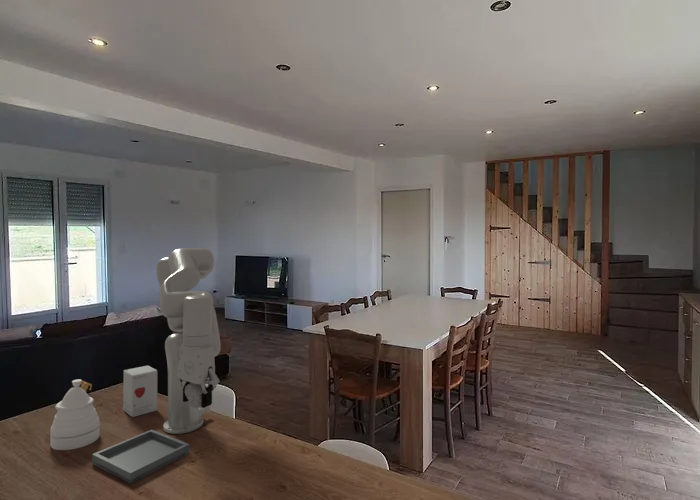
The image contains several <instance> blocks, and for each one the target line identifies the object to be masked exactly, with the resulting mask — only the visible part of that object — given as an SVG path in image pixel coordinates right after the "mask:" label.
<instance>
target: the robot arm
mask: <svg viewBox="0 0 700 500" xmlns="http://www.w3.org/2000/svg"><path fill="white" fill-rule="evenodd" d="M214 267H215V257H214V255H213V253H212V251H211V250H210V249H208V248H205V247H204V248H203V247H197V248H196V247H194V248H193V247H190V248H189V247H186V248H185V247H183V248H177V249H174V250H173V251H170V253H169V256H166V257H163V258H161V259H159V260H158V262H157V263H156V267H155V268H156V276H157V281H158V284H159V287H160V289H159V293H158V294H159V297H158V298H159V303H160V310H161V313H162V315H163V316H164V317H165V318H167V319H166V320H167V325H168V328H169V330H171V331H173V332H174V333H172V334H170V335H168V337H166V339H165V342H164V351H165V356H166V363H167V396H168V397H167V420H166V421H164V423H163V425H162V430H163V431H164V432H165V433H167V434H172V435H176V434H177V435H178V434H181V435H182V434H186V433H191V432H194V431H196V430H198V429H200V428H201V427H202V426H203V425H204V418H203V417H202V416H203V415H204V414H206V413H209V412H210V411H211V407H210V406H211V405H212V404H213V391H215V389H216V387H217V386H218V385H219V383H220V378H218V375H217V374H216V365H215V363H216V362H215V357H216V356H218V355H219V354H220V352H221V345H222V343H221V337H220V329H219V324H218V319H217V313H216V309H215V307H214V297H213V295H212V294H211V293H210V292H209V291H207V290H194V291H193V290H192V289H194V288H196V286H198V285H199V283H200V281H201V280H203V279H206V278H207V277H208V276H209V275H210V274H211V273H212V271H213V269H214ZM190 290H191V291H190ZM190 383H194V384H198V385H201V387H202V390H203V393H202V394H201V407H199V408H195V407H193V406H191V405H190V403H189V400H188V399H187V397H186V395H185V387H186V386H187V385H188V384H190ZM207 385H208V386H207ZM206 387H207V388H206Z"/></svg>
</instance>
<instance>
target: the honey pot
mask: <svg viewBox="0 0 700 500" xmlns="http://www.w3.org/2000/svg"><path fill="white" fill-rule="evenodd" d="M82 381H83V380H82V379H81V378H80V379H78V378H77V379H73V380H72V381H71V384H72V387H71V388H69V390H68V391H67V392H66V393H65V395H64V397H63V398H62V400H60V401H59V402H58V403H56V405H55V409H56V411H57V412H56V414H55V415H54V419H53V421H52V425H51V426H50V434H49V435H50V448H51V449H53V450H56V451H68V450H69V451H70V450H75V449H79V448H83V447H85V446H89V445H91V444H93V443H94V442H96V441H97V440H98V439H99V437H100V436H101V435H100V434H101V433H100V431H101V428H100V421H101V420H100V417H99V416H98V413H97V411H96V410H97V409H96V408H95V405H94V404H93V403H94V401H95V399H94V398H93V397H91V396H89V395H88V393H87V391H86V392H85V391H84V390H83V389H82V388H80V387H81V385H82V384H81V382H82Z"/></svg>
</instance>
